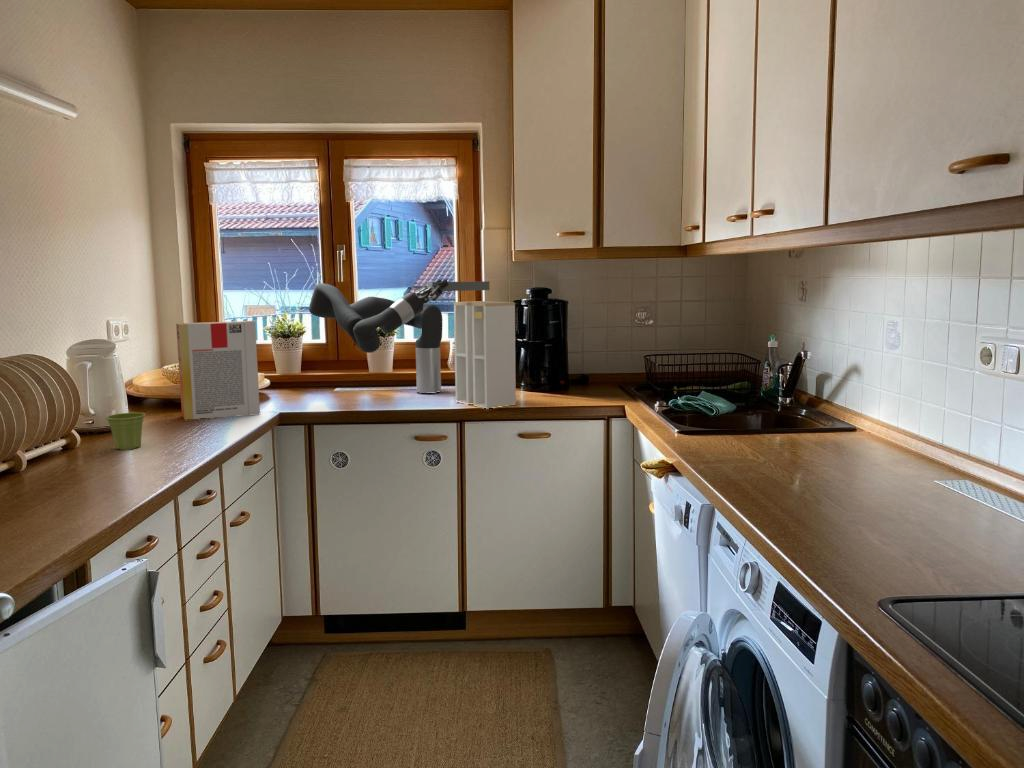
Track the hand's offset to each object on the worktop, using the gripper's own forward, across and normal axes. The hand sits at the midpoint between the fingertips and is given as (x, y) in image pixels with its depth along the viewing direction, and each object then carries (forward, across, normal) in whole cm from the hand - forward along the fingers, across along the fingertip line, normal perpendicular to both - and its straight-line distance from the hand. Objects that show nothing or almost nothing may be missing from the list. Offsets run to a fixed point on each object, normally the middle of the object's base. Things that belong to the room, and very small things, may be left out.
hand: (444, 282), depth 277 cm
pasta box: (-79, +31, +4) cm, 85 cm away
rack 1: (-10, 0, +43) cm, 44 cm away
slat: (+4, 0, +6) cm, 7 cm away
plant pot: (-110, -5, -14) cm, 111 cm away
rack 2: (-10, -11, +43) cm, 45 cm away
